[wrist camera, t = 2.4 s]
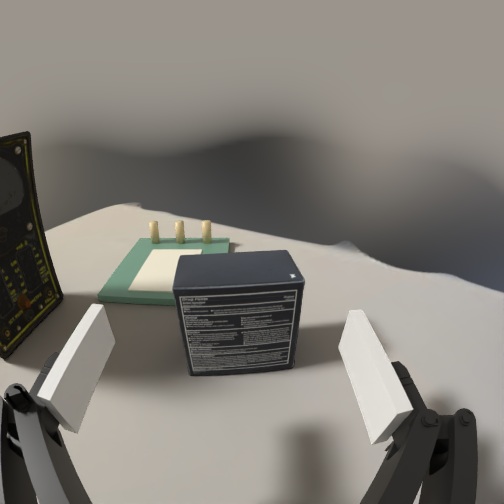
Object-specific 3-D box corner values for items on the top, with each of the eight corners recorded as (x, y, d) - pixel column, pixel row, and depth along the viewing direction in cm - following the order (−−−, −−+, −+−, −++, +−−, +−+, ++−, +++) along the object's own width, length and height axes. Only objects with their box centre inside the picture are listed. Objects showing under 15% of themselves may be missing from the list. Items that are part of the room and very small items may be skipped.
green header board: (229, 242, 53) (229, 217, 51) (223, 306, 35) (221, 272, 33) (140, 243, 52) (137, 219, 50) (99, 301, 34) (90, 270, 32)
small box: (281, 328, 31) (289, 246, 27) (294, 369, 26) (309, 281, 21) (190, 333, 30) (178, 251, 25) (188, 377, 24) (170, 289, 20)
